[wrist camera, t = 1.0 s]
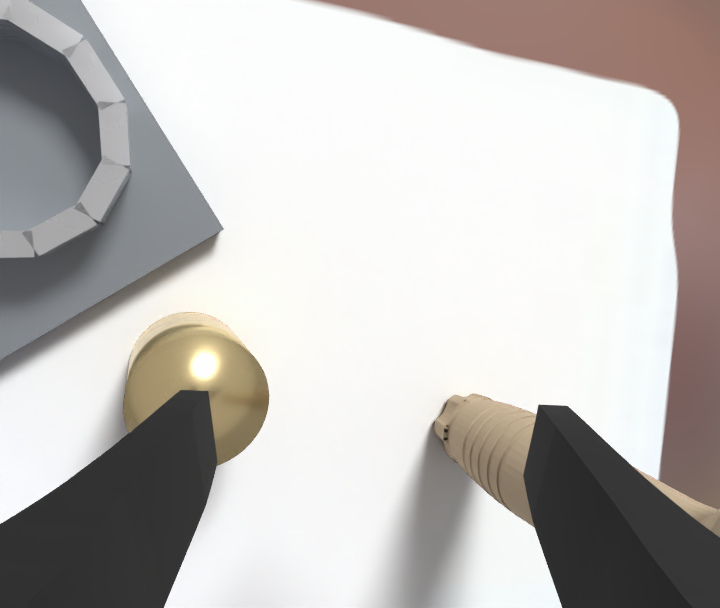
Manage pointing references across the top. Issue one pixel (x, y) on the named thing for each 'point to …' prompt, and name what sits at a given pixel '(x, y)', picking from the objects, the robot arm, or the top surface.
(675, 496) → the handle
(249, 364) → the brass peg
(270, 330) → the top surface
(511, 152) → the top surface
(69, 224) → the wide collar
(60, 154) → the board
